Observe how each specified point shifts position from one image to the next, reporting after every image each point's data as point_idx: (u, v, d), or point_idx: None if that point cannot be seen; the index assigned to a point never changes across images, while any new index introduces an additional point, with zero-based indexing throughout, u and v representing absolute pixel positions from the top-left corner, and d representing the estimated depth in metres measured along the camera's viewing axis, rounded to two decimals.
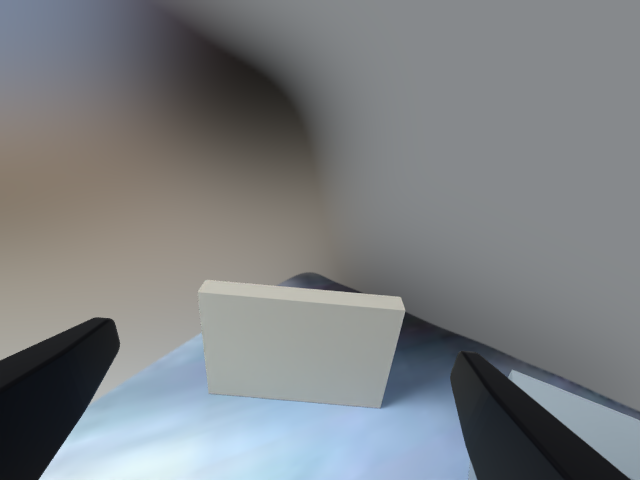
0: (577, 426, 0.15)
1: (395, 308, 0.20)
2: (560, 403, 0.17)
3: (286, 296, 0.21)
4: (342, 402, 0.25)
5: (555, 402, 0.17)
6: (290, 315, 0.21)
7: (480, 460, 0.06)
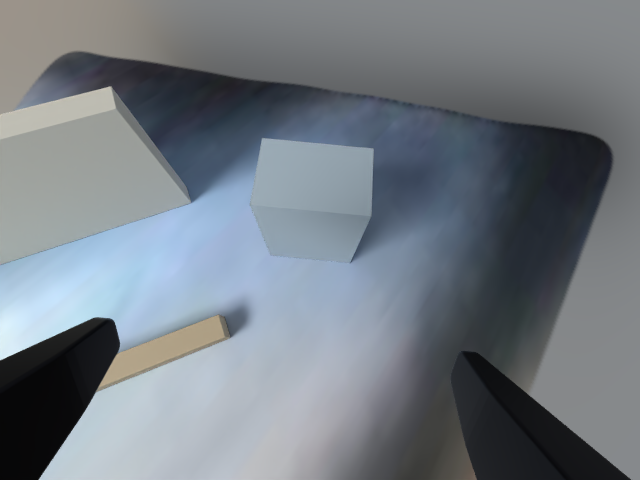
0: (311, 181, 0.15)
1: (101, 110, 0.15)
2: (302, 160, 0.16)
3: None
4: (149, 214, 0.23)
5: (298, 161, 0.16)
6: None
7: (480, 460, 0.06)
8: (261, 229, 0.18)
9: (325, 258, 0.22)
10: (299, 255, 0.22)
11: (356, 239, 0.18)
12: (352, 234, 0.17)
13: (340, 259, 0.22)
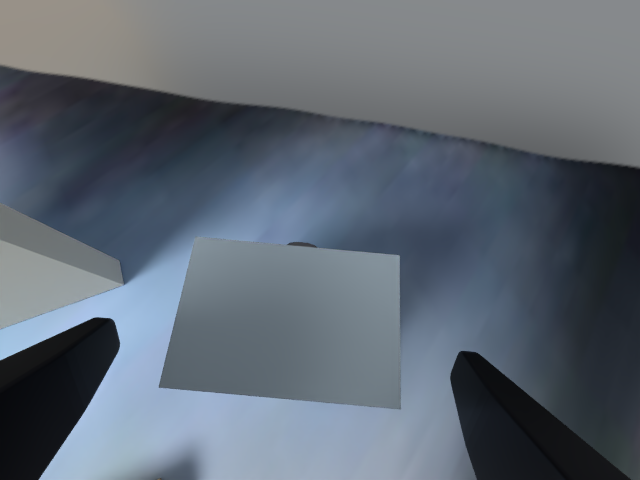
0: (284, 328, 0.08)
1: None
2: (268, 282, 0.08)
3: None
4: (60, 305, 0.16)
5: (259, 286, 0.08)
6: None
7: (480, 460, 0.06)
8: None
9: None
10: None
11: None
12: None
13: None
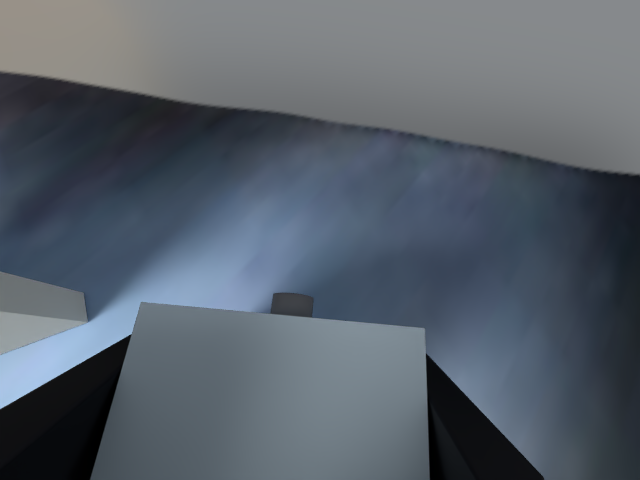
0: (261, 444, 0.06)
1: None
2: (240, 371, 0.06)
3: None
4: (10, 348, 0.14)
5: (228, 377, 0.06)
6: None
7: None
8: None
9: None
10: None
11: None
12: None
13: None
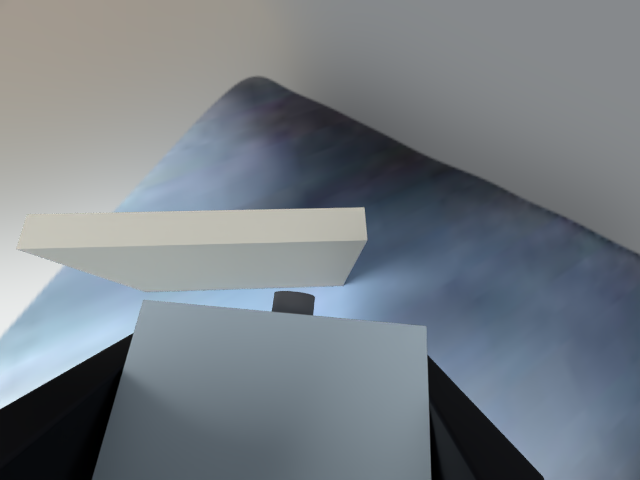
0: (264, 441, 0.06)
1: (351, 238, 0.13)
2: (242, 369, 0.06)
3: (170, 236, 0.12)
4: (299, 286, 0.22)
5: (230, 374, 0.06)
6: (190, 254, 0.13)
7: None
8: None
9: None
10: None
11: None
12: None
13: None
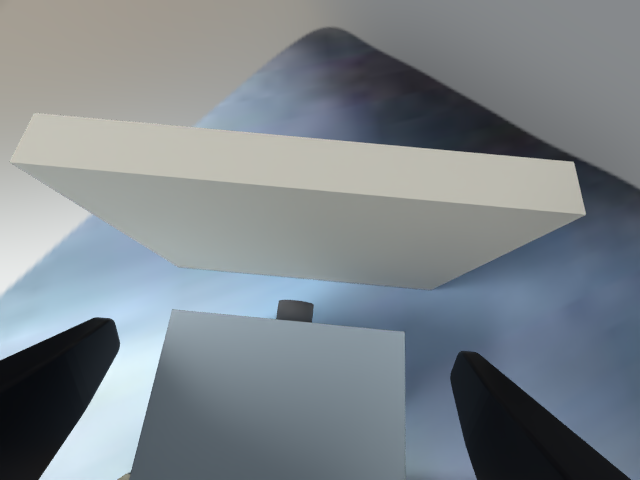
0: (271, 424, 0.07)
1: (559, 208, 0.07)
2: (253, 366, 0.07)
3: (256, 171, 0.07)
4: (375, 283, 0.16)
5: (244, 370, 0.07)
6: (274, 209, 0.09)
7: (480, 460, 0.06)
8: None
9: None
10: None
11: None
12: None
13: None
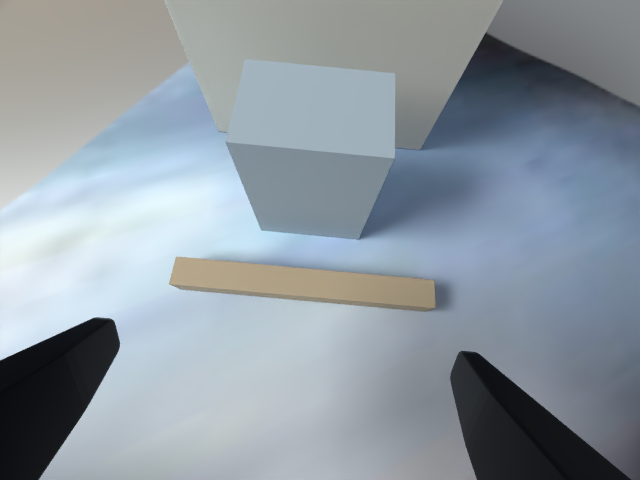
0: (312, 112, 0.11)
1: None
2: (299, 86, 0.12)
3: None
4: None
5: (293, 88, 0.12)
6: (309, 6, 0.13)
7: (480, 460, 0.06)
8: (246, 187, 0.14)
9: (328, 233, 0.18)
10: (296, 229, 0.18)
11: (370, 201, 0.14)
12: (364, 193, 0.13)
13: (346, 234, 0.18)
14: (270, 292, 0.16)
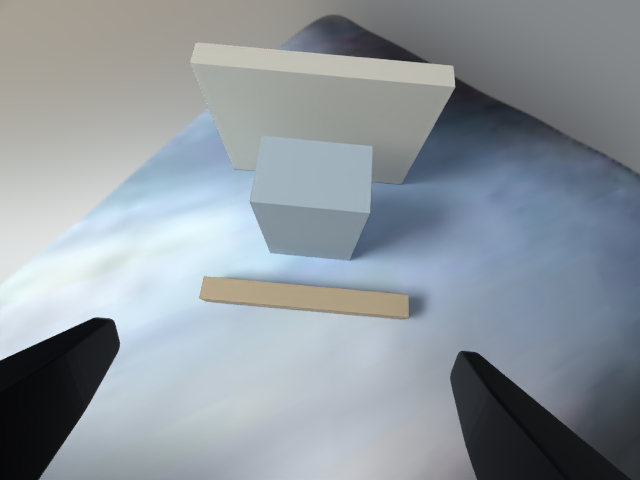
0: (311, 178, 0.16)
1: (442, 84, 0.16)
2: (302, 157, 0.16)
3: (303, 67, 0.16)
4: None
5: (297, 159, 0.16)
6: (309, 93, 0.17)
7: (480, 460, 0.06)
8: (261, 226, 0.18)
9: (325, 256, 0.22)
10: (299, 252, 0.22)
11: (356, 236, 0.18)
12: (351, 231, 0.18)
13: (339, 256, 0.22)
14: (278, 304, 0.20)
